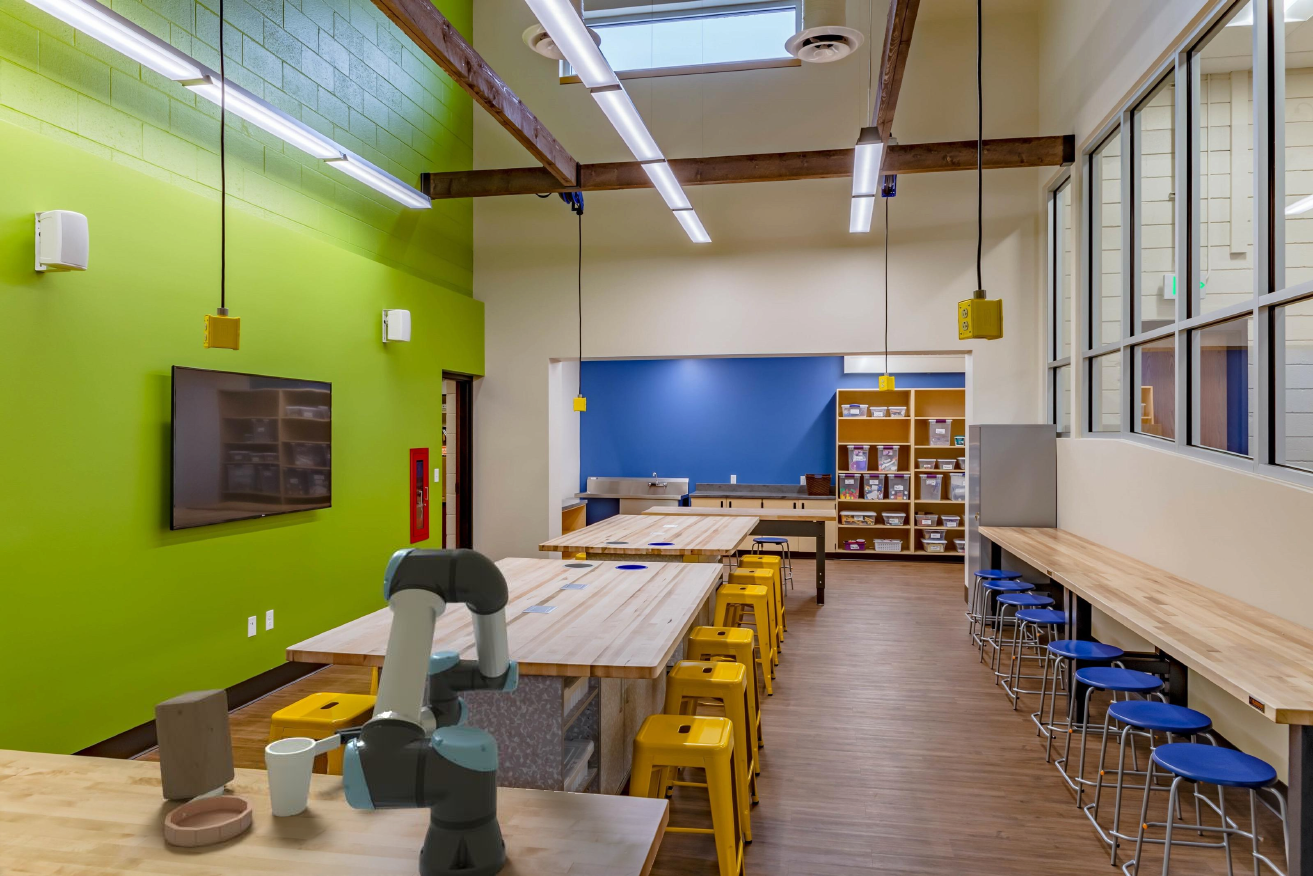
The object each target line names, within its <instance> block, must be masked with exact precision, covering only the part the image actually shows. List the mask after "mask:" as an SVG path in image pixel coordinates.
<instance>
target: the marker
mask: <svg viewBox="0 0 1313 876" xmlns="http://www.w3.org/2000/svg"><path fill="white" fill-rule="evenodd" d="M227 786H228V785H227V784H225V785H223V786H221V787H220V788H218V789H215V790H213V791H210V792H208V793H206V794H204V795H199V796H197V797H196V798H192V799H191V800H189V801H188V802H186V803H185V804H187V803H189V802H192V801H195V800H198V799H202V798H208V797H214V796H220V795H223V793H224V791H225V788H226V787H227ZM185 815H186V814H185V813H183V818H184V816H185Z"/></svg>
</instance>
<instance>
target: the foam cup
mask: <svg viewBox="0 0 1313 876" xmlns="http://www.w3.org/2000/svg"><path fill="white" fill-rule="evenodd" d="M316 742H317V741H315V739H312V738H309V737H290V738H289V737H287V738H283V739H281V740H280V739H279V740H276V741H274V742H271V743H270V744H268V745H267V746H266V747H265V748H264V754H265V755H264V762H265V764H266V773H267V779H268V781H267V782H268V790H269V797H270V807H271V812H272V814H273V816H275V817H276V816H277V817H291V815H292V816H295V815H298V814H301V813H302V812H304V811H305V810H306V808H307V805H308V799H309V793H310V786H311V779H312V773H313V768H314V762H315V754H316Z"/></svg>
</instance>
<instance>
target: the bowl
mask: <svg viewBox="0 0 1313 876" xmlns="http://www.w3.org/2000/svg"><path fill="white" fill-rule="evenodd" d="M188 802H189V801H188ZM188 802H186V803H187V804H186V803H184V804H180V805H179V806H177V807H176V808H174V809H173V810H172V811H169V813H167V814H166V816H165V820H164V831H163V834H164V835H163V836H164V837H165V838H164V839H165V841H166V842H167V843H168V844H169V845H171V846H175V847H182V848H198V847H205V846H210V845H211V846H212V845H216V844H219V843H223V842H225V841H228V840H231V839H233V838H235V837H237V836H239V835H241V834H243V832H245V831H247V830H248V829H249V827H250V826H251V824H252V822H253V800H251V799H249V798H247V797H245V796H243V795H230V794H229V795H228V794H227V795H226V794H222V795H220V796H214V797H208V798H202V799H198V800H195V801H192V802H189V803H188ZM183 813H185V814H186V815H185V816H184V818H183Z"/></svg>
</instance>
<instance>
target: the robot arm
mask: <svg viewBox="0 0 1313 876" xmlns="http://www.w3.org/2000/svg"><path fill="white" fill-rule="evenodd" d="M382 587H383V588H382V591H383V593H382V594H383V598H384V601H385V602H386V603H388V608H389V609H390V610H391V612H392V613H393V618H392V622H391V627H390V631H389V637H388V640H387V646H386V651H385V655H384V660H383V665H382V671H381V673H380V674H381V676H380V680H379V684H378V689H377V695H376V699H375V704H374V709H373V712H372V718H371V719H369V720H368V721H366V722H365V723H364V724H362V725H360V726H355V727H353V726H352V727H347V728H342V729H340V728H339V729H335V730H334V731H333V735H332V736H329V737H326V738H323V739H321V740H317V741H315V742H316V754H315V756H318V755H321V754H324V753H327V752H329V751H333V750H336V749H339V748H340V747H341V746H343V745H345V747H344V748H345V749H344V754H343V759H342V760H343V763H342V782H343V783H342V785H343V791H344V796H345V797H344V798H345V800H346V802H347V804H348V806H350V807H351V808H353V809H355V810H371V811H377V810H394V809H396V810H397V809H398V810H399V809H401V810H402V809H403V810H404V809H407V810H408V809H429V811H430V813H429V815H430V817H429V818H430V819H429V820H430V821H429V825H428V828H427V831H426V835H425V838H424V841H423V842H424V843H423V846H422V847H421V849H420V851H419V857H418V859H419V860H418V871H419V874H420V876H494V875H496V874H497V873H499V872H500V871H501V870H502V868H504V866H505V864H506V857H507V856H506V852H507V848H506V842H505V840H504V839H503V835H502V830H501V827H500V824H499V821H498V816H497V815H498V814H497V808H498V807H497V805H498V768H499V764H500V760H499V758H498V757H499V755H498V753H499V752H498V743H497V740H496V738H495V737H494V736H493V735H492V734H491V733H490V732H488V731H486V730H485V729H481V728H478V727H476V726H475V727H474V726H472V725H471V726H470V725H464V724H465V722H466V721H467V719H468V717H469V709H468V707H467V702H466V701H465V699H464V698H462V697H461V696H459V695H460V693H461V692H462V693H465V692H466V693H472V692H473V693H474V692H475V693H477V692H478V693H480V692H483V693H484V692H485V693H486V692H489V693H490V692H493V693H494V692H499V693H503V692H514V691H515V690H517V687H518V684H519V669H520V668H519V662H518V661H517V660H514V659H513V660H512V659H510V657H509V656H510V655H509V645H508V644H509V641H508V631H507V630H508V629H507V618H506V606H507V604H508V602H509V587H508V583H507V580H506V578H505V576H504V574H503V572H502V571H501V569H500V568H499V567H498V566H497V565H496V564H495V563H494V562H493V561H492V560H491V559H490V558H489V557H487V555H485V554H482V553H481V552H479V551H476V550H474V549H470V548H469V549H468V548H419V547H413V548H403V549H399V550H397V551H395V553H393V554H392V555H391V557H390V558H389V561H388V564H387V566H386V569H385V572H384V581H383V586H382ZM447 604H465V606H466V608H467V610H468V611H470V612H471V614H470V615H471V621H472V626H473V627H472V629H473V637H474V644H475V645H474V646H475V651H476V660H461V658H460V654H459V652H457V651H454V650H453V651H451V650H442V651H437V652H436V651H435V652H434V653H432V648H433V642H434V637H435V631H436V624H437V619H438V618H440V617H441V616H442V615H443V614H445V612H446V608H447ZM426 684H427V703H426V705H425V706H424V705H423V703H424V698H425V697H424V696H425V689H426ZM315 756H314V757H315Z"/></svg>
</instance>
